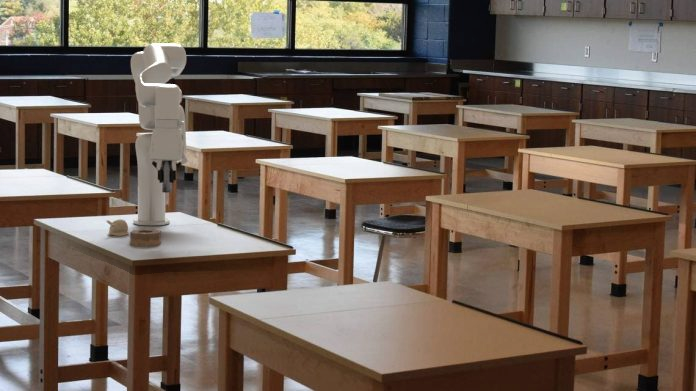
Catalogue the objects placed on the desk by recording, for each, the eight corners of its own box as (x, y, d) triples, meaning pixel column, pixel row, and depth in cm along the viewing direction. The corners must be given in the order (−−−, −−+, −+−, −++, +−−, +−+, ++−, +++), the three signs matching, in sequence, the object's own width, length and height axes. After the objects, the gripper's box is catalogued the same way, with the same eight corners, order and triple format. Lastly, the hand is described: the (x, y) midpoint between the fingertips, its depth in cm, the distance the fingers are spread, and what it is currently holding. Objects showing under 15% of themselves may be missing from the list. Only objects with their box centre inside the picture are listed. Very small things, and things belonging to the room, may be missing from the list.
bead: (133, 241, 373) (133, 228, 373) (162, 241, 373) (162, 229, 373) (128, 246, 364) (128, 233, 364) (157, 246, 364) (157, 234, 364)
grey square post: (162, 191, 373) (162, 160, 371) (172, 191, 373) (172, 160, 372) (161, 192, 370) (161, 161, 369) (171, 192, 370) (171, 161, 369)
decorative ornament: (131, 235, 385) (131, 219, 385) (108, 237, 380) (108, 220, 380) (126, 233, 388) (126, 217, 388) (102, 235, 384) (102, 219, 383)
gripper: (194, 124, 373) (193, 181, 375) (142, 123, 372) (142, 180, 374) (191, 126, 365) (191, 184, 367) (139, 124, 365) (139, 183, 367)
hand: (166, 182), depth 371 cm, fingers closed on grey square post, 3 cm apart
